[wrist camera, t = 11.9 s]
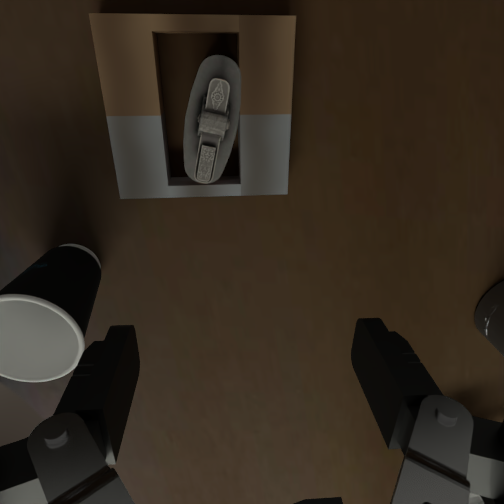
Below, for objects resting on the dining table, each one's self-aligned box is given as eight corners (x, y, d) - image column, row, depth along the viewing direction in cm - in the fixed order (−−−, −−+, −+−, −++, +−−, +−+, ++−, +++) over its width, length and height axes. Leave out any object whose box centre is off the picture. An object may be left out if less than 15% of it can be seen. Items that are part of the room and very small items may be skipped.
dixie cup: (36, 217, 33) (-36, 282, 24) (125, 242, 35) (93, 313, 26) (26, 287, 37) (-42, 371, 27) (108, 307, 39) (73, 392, 29)
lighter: (199, 49, 28) (193, 47, 20) (242, 61, 29) (255, 63, 20) (183, 153, 32) (172, 190, 23) (222, 161, 33) (226, 200, 24)
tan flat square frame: (289, 18, 28) (296, 15, 26) (282, 185, 34) (287, 194, 32) (98, 16, 27) (88, 13, 25) (126, 189, 33) (120, 199, 31)
